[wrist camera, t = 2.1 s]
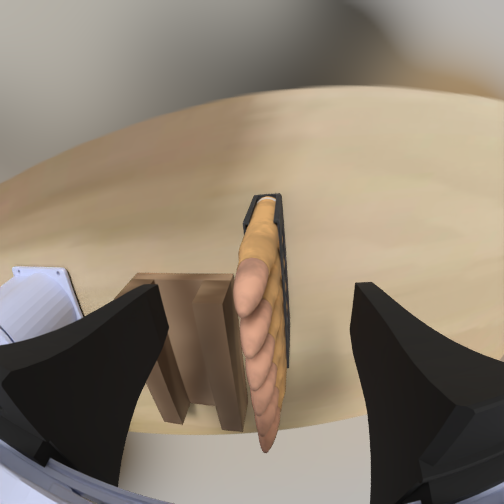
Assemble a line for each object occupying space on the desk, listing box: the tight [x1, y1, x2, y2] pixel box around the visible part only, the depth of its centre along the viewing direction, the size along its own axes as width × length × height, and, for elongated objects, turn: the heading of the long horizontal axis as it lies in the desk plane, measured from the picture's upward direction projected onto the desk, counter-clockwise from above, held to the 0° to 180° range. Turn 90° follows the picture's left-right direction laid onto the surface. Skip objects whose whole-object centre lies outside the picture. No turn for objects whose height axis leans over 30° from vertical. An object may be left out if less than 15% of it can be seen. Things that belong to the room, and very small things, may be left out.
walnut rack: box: [115, 273, 248, 432], centre depth 24 cm, size 8×15×4 cm, turn 4°
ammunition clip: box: [233, 193, 290, 453], centre depth 16 cm, size 11×2×12 cm, turn 6°
